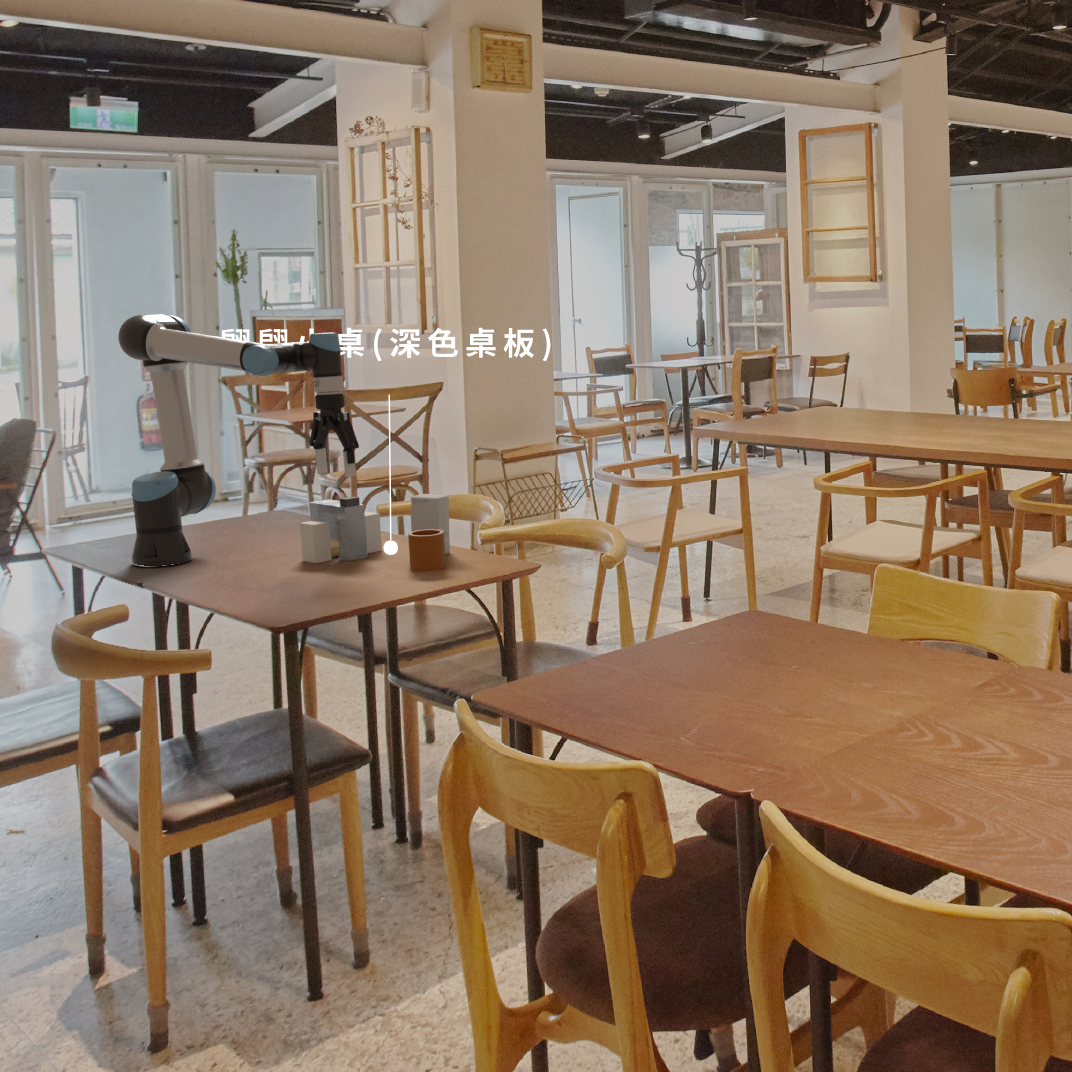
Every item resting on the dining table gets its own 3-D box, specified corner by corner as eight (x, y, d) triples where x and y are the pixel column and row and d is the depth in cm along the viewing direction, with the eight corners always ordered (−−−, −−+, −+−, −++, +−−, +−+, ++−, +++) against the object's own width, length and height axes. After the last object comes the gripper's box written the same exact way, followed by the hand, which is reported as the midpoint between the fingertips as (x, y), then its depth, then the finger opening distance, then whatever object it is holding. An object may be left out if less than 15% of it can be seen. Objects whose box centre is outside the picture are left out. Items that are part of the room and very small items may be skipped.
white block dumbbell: (302, 560, 317) (299, 522, 315) (368, 547, 331) (366, 511, 329) (315, 563, 312) (312, 525, 311) (381, 550, 326) (379, 513, 325)
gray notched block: (313, 554, 325) (308, 494, 322) (332, 550, 329) (327, 492, 326) (348, 561, 313) (344, 500, 310) (367, 557, 317) (363, 496, 314)
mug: (456, 562, 307) (454, 527, 305) (437, 572, 296) (436, 536, 294) (423, 560, 310) (421, 525, 308) (403, 571, 298) (402, 535, 297)
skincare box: (412, 556, 317) (408, 497, 314) (423, 551, 323) (420, 493, 320) (440, 557, 313) (437, 497, 311) (452, 552, 319) (449, 493, 317)
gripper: (291, 394, 320) (299, 474, 324) (342, 394, 301) (349, 479, 305) (316, 391, 325) (323, 470, 328) (368, 392, 306) (374, 475, 310)
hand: (336, 475), depth 317 cm, fingers open, 13 cm apart
